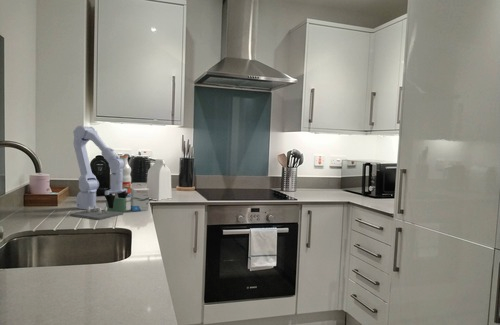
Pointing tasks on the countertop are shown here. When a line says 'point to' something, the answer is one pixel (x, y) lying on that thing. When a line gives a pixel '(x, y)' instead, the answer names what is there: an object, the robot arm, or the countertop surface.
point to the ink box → (139, 197)
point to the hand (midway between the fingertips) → (116, 207)
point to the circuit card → (118, 205)
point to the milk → (159, 181)
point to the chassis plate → (96, 213)
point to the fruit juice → (126, 178)
